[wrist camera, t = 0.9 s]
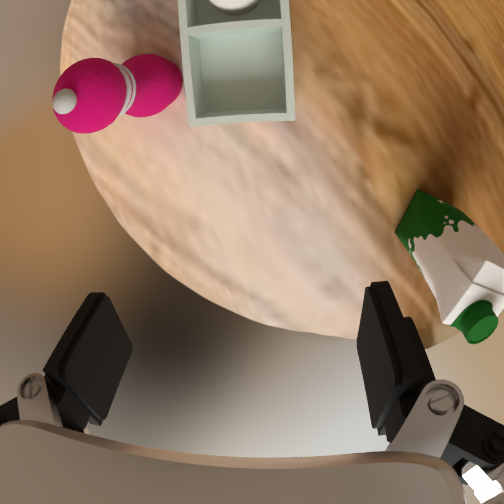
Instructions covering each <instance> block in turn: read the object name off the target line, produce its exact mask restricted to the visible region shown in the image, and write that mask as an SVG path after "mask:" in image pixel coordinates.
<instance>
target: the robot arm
mask: <svg viewBox="0 0 504 504" xmlns="http://www.w3.org/2000/svg"><path fill="white" fill-rule="evenodd" d="M357 351H358V355H359V360H360V365H361V370H362V374H363V379H364V385H365V390H366V395H367V401H368V407H369V412H370V418H371V424H372V427H373V428H377V430H378V435H379V436H380V435H385V434H386V436H387V441H388V442H390V444H389V446H388V447H387V449H386V451H381V452H367V453H353V454H342V455H332V456H331V455H330V456H316V457H315V456H314V457H289V458H248V457H227V456H226V457H225V456H211V455H201V454H191V453H183V452H175V451H168V450H161V449H155V448H149V447H143V446H137V445H132V444H127V443H122V442H118V441H113V440H109V439H105V438H101V437H96V436H93V435H90V434H89V432H88V429H87V426H86V425H87V423H88V422H89V423H90V424H94V425H98V426H101V424H102V421H103V420H104V419H106V417H107V415H108V412H109V409H110V406H111V404H112V401H113V399H114V396H115V393H116V391H117V388H118V386H119V383H120V380H121V378H122V375H123V373H124V370H125V368H126V365H127V362H128V360H129V358H130V355H131V353H132V343H131V341H130V339H129V337H128V335H127V333H126V331H125V329H124V327H123V325H122V323H121V321H120V319H119V317H118V315H117V313H116V311H115V308H114V306H113V304H112V302H111V300H110V298H109V297H108V296H106V294H105V293H102V292H97V293H96V292H92V293H89V295H88V296H87V297H86V299H85V300H84V302H83V303H82V305H81V307H80V308H79V310H78V311H77V313H76V314H75V316H74V318H73V319H72V321H71V322H70V324H69V326H68V327H67V329H66V331H65V332H64V334H63V335H62V337H61V339H60V341H59V342H58V344H57V346H56V348H55V349H54V351H53V353H52V354H51V356H50V358H49V360H48V362H47V363H46V365H45V367H44V369H43V371H44V372H45V376H44V377H43V376H42V375H41V374H39V373H32V374H29V375H27V376H26V377H25V378H24V379H23V380H22V381H21V382H20V384H19V386H18V389H17V397H15V398H14V399H12V400H10V401H8V402H6V403H5V404H3V405H1V406H0V504H467V501H466V497H465V493H464V490H463V486H462V484H465V485H470V486H471V487H472V488H473V489H474V490H475V491H476V492H475V493H474V494H475V495H476V496H477V498H478V499H479V501H480V502H481V504H504V425H502V424H500V423H498V422H496V421H494V420H492V419H491V418H489V417H487V416H484V415H483V414H481V413H479V412H477V411H475V410H473V409H471V408H470V407H467V406H466V405H464V397H463V394H462V392H461V390H460V389H459V387H458V386H457V385H456V384H454V383H452V382H451V381H447V380H436V379H435V376H434V373H433V371H432V368H431V365H430V362H429V360H428V357H427V354H426V352H425V349H424V346H423V344H422V341H421V339H420V336H419V334H418V331H417V329H416V326H415V324H414V322H413V320H412V318H411V317H403V315H402V312H401V310H400V308H399V305H398V303H397V300H396V298H395V296H394V293H393V291H392V289H391V286H390V284H389V282H388V281H381V282H372V283H371V285H370V287H366V288H365V294H364V301H363V308H362V314H361V320H360V326H359V331H358V337H357ZM461 483H462V484H461Z"/></svg>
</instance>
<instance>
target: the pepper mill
mask: <svg viewBox="0 0 504 504" xmlns="http://www.w3.org/2000/svg"><path fill="white" fill-rule="evenodd" d="M181 88H182V75H181V72H180V70H179V69H178V67H177V66H176V65H175V64H173V63H172V62H170V61H168V60H166V59H164V58H163V57H160V56H158V55H154V54H143V55H137V56H134V57H132V58H130V59H128V60H127V61H125V62H124V63H123V64H116V63H112V62H110V61H108V60H105V59H101V58H88V59H84V60H81V61H78V62H76V63H74V64H73V65H71V66H70V67H69V68H68V69H66V70H65V71H64V72H63V74H62V75H61V76H60V78H59V79H58V82H57V83H56V86H55V88H54V92H53V101H52V103H53V104H52V105H53V109H54V113H55V115H56V117H57V119H58V120H59V122H60V123H61V124H62V125H63V126H64V127H66V128H67V129H69V130H71V131H73V132H76V133H93V132H97V131H99V130H102V129H104V128H105V127H107V126H108V125H110V124H111V123H113V122H114V120H115V119H116V118H117V117H119V116H121V115H123V114H124V113H126V114H128V115H131V116H134V117H147V116H152V115H155V114H157V113H159V112H161V111H162V110H164V109H165V108H166V107H167V106H168V105H169V104H171V103H172V102H173V101H174V100H175V99H176V98H177V97H178V95H179V94H180V92H181Z"/></svg>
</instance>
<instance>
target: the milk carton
mask: <svg viewBox="0 0 504 504" xmlns="http://www.w3.org/2000/svg"><path fill="white" fill-rule="evenodd" d="M395 234H396V235H397V236H398V238H399V239H400V241H401V242H402V243H403V245H404V246H405V248H406V249H407V251H408V252H409V254H410V255H411V257H412V258H413V260H414V261H415V263H416V265H417V266H418V268H419V270H420V271H421V273H422V275H423V276H424V278H425V280H426V281H427V283H428V285H429V287H430V288H431V290H432V292H433V294H434V296H435V298H436V300H437V304H438V308H439V312H440V316H441V321H442V323H444V324H449V325H450V326H452V327H456V328H457V329H458V330H460V331H462V333H463V334H464V336H465V338H466V340H467V342H468V343H470V344H477V343H480V342H482V341H484V340H485V339H487V338H488V337H489V336H490V335H491V334H492V333H493V332H494V330H495V329H496V327H497V324H498V318H497V316H498V315H499V314H500V312H501V311H502V310H503V308H504V254H503V253H502V252H501V251H500V249H499V248H498V247H497V246H496V245H495V244H494V243H493V242H492V241H491V240H490V238H489V237H488V236H487V235H486V234H485V233H484V232H483V231H482V230H481V229H480V228H479V227H478V226H477V225H476V224H475V223H474V222H473V221H472V220H471V219H470V218H468V217H467V216H466V215H465V214H464V213H463V212H462V211H461V210H459V209H457V208H455V207H453V206H452V205H450V204H448V203H446V202H444V201H442V200H440V199H438V198H435V197H433V196H431V195H429V194H427V193H424V192H422V191H420V190H418V189H417V191H416V193H415V195H414V197H413V199H412V201H411V203H410V205H409V207H408V209H407V211H406V213H405V215H404V216H403V218H402V220H401V222H400V224H399V226H398V228H397V230H396V231H395Z"/></svg>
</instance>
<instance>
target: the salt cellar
mask: <svg viewBox="0 0 504 504" xmlns="http://www.w3.org/2000/svg"><path fill="white" fill-rule="evenodd" d="M209 1H210V2H211V3H212V4H213V5H214V6H215V7H216V8H217V9H218V10H219V11H220V12H222V13H224V14H227V15H233V16H238V15H244V14H247V13H249V12H251V11H252V10H254V9H255V8H256V7H257V6H258V5H259V3H260V1H261V0H209Z"/></svg>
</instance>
